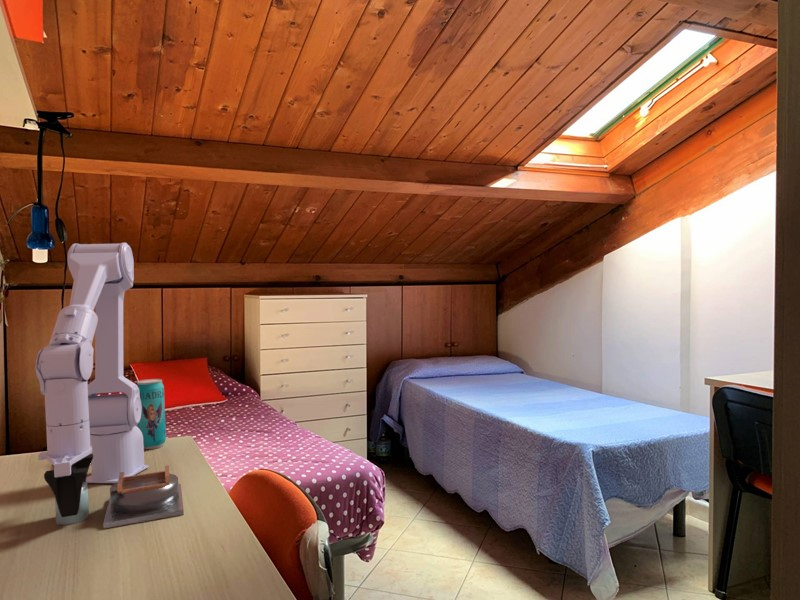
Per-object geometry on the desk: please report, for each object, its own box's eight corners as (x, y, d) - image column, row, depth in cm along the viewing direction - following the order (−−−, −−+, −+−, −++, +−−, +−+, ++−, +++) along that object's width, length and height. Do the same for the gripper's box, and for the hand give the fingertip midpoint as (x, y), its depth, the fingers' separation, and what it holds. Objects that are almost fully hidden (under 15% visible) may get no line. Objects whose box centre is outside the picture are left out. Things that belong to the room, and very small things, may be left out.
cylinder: (58, 516, 88) (57, 484, 88) (90, 511, 89) (89, 480, 89) (53, 526, 84) (52, 493, 84) (87, 521, 85) (85, 488, 85)
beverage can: (141, 452, 122) (138, 383, 122) (136, 446, 127) (133, 380, 127) (169, 447, 126) (166, 380, 126) (162, 442, 130) (160, 377, 130)
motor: (110, 499, 94) (109, 468, 94) (180, 488, 99) (179, 458, 98) (103, 528, 82) (101, 492, 82) (183, 514, 87) (182, 480, 87)
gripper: (46, 415, 91) (50, 498, 92) (27, 436, 78) (31, 532, 78) (95, 410, 94) (99, 491, 94) (84, 429, 81) (89, 522, 81)
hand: (72, 509), depth 87 cm, fingers closed on cylinder, 4 cm apart
